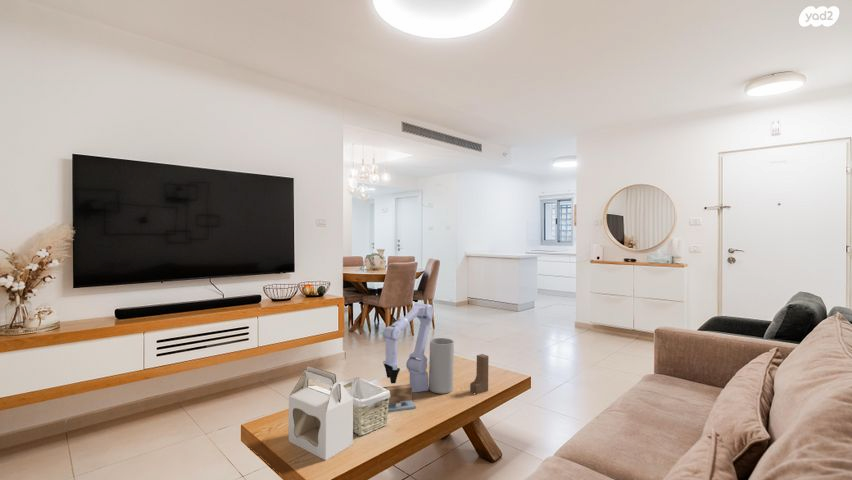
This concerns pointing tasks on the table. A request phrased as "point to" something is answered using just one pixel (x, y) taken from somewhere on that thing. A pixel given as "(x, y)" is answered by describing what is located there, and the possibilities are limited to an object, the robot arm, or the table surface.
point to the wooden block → (480, 375)
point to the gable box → (320, 415)
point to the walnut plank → (400, 393)
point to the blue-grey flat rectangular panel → (404, 406)
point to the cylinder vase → (441, 365)
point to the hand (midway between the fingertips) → (391, 380)
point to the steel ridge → (397, 404)
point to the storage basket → (367, 405)
